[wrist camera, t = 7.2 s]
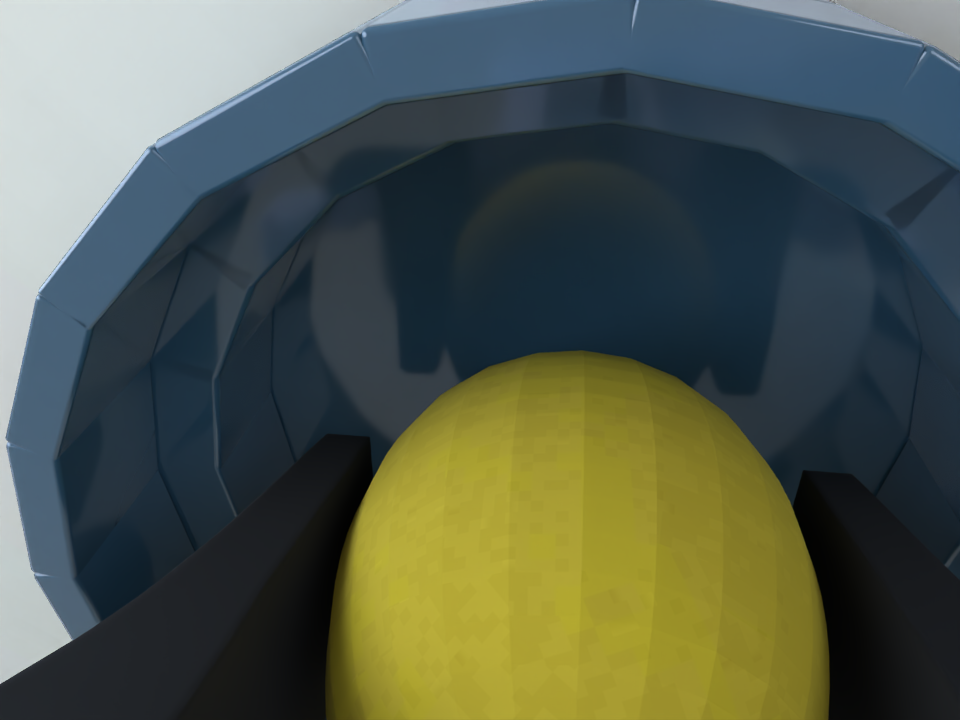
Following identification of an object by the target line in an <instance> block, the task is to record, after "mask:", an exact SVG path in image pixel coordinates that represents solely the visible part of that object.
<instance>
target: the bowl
mask: <svg viewBox="0 0 960 720" xmlns="http://www.w3.org/2000/svg"><path fill="white" fill-rule="evenodd" d="M38 293H39V294H38V295H37V297H36V301H35V306H34V310H33V315H32V319H31V324H30V329H29V333H28V338H27V342H26V347H25V352H24V356H23V361H22V365H21V370H20V375H19V379H18V384H17V388H16V393H15V398H14V402H13V407H12V411H11V416H10V421H9V425H8V430H7V434H6V440H7V441H8V443H7V452H8V457H9V462H10V467H11V472H12V477H13V482H14V486H15V491H16V496H17V501H18V506H19V511H20V516H21V521H22V526H23V531H24V536H25V541H26V546H27V551H28V556H29V560H30V565H31V570H32V571H33V572H35V574H34V576H35V579H36V581H37V582H38V584H39V586H40V587H41V589H42V591H43V592H44V594H45V596H46V597H47V599H48V601H49V602H50V604H51V606H52V607H53V609H54V611H55V612H56V614H57V616H58V617H59V619H60V621H61V622H62V624H63V626H64V627H65V629H66V631H67V632H68V634H69V636H70V637H71V639H72V641H73V640H74V639H76V638H77V637H79V636H81V635H82V634H84V633H85V632H87V631H88V630H90V629H91V628H93V627H94V626H96V625H97V624H99V623H100V622H102V621H103V620H104V619H106V618H107V617H109V616H110V615H112V614H113V613H115V612H116V611H118V610H119V609H121V608H122V607H123V606H125V605H126V604H128V603H129V602H131V601H132V600H134V599H135V598H136V597H138V596H139V595H140V594H142V593H143V592H145V591H146V590H147V589H149V588H150V587H151V586H153V585H154V584H155V583H157V582H158V581H159V580H160V579H162V578H163V577H164V576H166V575H167V574H168V573H169V572H171V571H172V570H173V569H174V568H176V567H177V566H178V565H179V564H180V563H182V562H183V561H184V560H185V559H187V558H188V557H189V556H190V555H192V554H193V553H194V552H195V551H197V550H198V549H199V548H200V547H201V546H203V545H204V544H205V543H206V542H208V541H209V540H210V539H211V538H213V537H214V536H215V535H216V534H217V533H218V532H220V531H221V530H222V529H223V528H224V527H225V526H226V525H228V524H229V523H230V522H231V521H232V520H233V519H234V518H235V517H237V516H238V515H239V514H240V513H241V512H242V511H243V510H244V509H246V508H247V507H248V506H249V505H250V504H251V503H252V502H253V501H255V500H256V499H257V498H258V497H259V496H260V495H261V494H262V493H263V492H264V491H266V490H267V489H268V488H269V487H270V486H271V485H272V484H273V483H274V482H275V481H276V480H277V479H278V478H279V477H281V476H282V475H283V474H284V473H285V472H286V471H287V470H288V469H289V468H290V467H291V466H292V465H293V464H294V463H295V462H296V461H298V460H299V459H300V458H301V457H302V456H303V455H304V454H305V453H306V452H307V451H308V450H309V449H310V448H311V447H312V446H314V445H315V444H316V443H317V442H318V441H319V440H320V439H321V438H323V437H324V436H325V435H326V434H340V435H353V436H366V437H370V443H371V455H372V467H373V478H374V476H375V474H376V472H377V471H378V469H379V467H380V465H381V463H382V461H383V460H384V458H385V456H386V454H387V453H388V451H389V450H390V449H391V447H392V446H393V444H394V443H395V442H396V440H397V439H398V438H399V437H400V436H401V435H402V433H403V432H404V431H405V430H406V429H407V428H408V427H409V426H410V425H411V424H412V423H413V422H414V421H415V420H416V419H417V418H418V417H419V416H420V415H421V414H422V413H423V412H424V411H425V410H426V409H427V408H428V407H429V406H430V405H431V404H432V403H433V402H434V401H435V400H436V399H437V398H438V397H439V396H440V395H442V394H443V393H445V392H446V391H448V390H449V389H451V388H452V387H454V386H456V385H457V384H459V383H461V382H463V381H464V380H466V379H468V378H470V377H471V376H473V375H475V374H477V373H478V372H480V371H482V370H483V369H485V368H487V367H489V366H492V365H496V364H499V363H503V362H506V361H510V360H513V359H517V358H521V357H524V356H528V355H531V354H535V353H542V352H561V351H579V350H583V351H590V352H596V353H602V354H608V355H615V356H621V357H627V358H631V359H633V360H636V361H638V362H641V363H643V364H646V365H648V366H651V367H653V368H656V369H658V370H660V371H663V372H665V373H668V374H670V375H673V376H675V377H677V378H678V379H680V380H681V381H683V382H684V383H685V384H687V385H688V386H689V387H691V388H692V389H694V390H695V391H696V392H698V393H699V394H700V395H702V396H703V397H705V398H706V399H707V400H709V401H710V402H712V403H713V404H714V405H716V406H717V407H718V408H720V409H721V410H722V411H724V412H725V413H726V414H727V415H728V416H729V417H730V418H731V419H732V420H733V422H734V423H735V424H736V425H737V426H738V427H739V428H740V430H741V431H742V432H743V433H744V435H745V436H746V437H747V438H748V440H749V441H750V442H751V443H752V445H753V446H754V447H755V449H756V450H757V451H758V452H759V454H760V455H761V456H762V457H763V459H764V460H765V461H766V462H767V464H768V465H769V467H770V468H771V470H772V471H773V473H774V474H775V476H776V477H777V478H778V480H779V482H780V483H781V485H782V487H783V489H784V491H785V493H786V495H787V497H788V499H789V501H790V503H791V506H792V507H793V504H794V500H795V497H796V493H797V490H798V486H799V482H800V479H801V475H802V472H803V470H809V471H822V472H835V473H848V474H852V475H854V476H855V477H856V478H857V479H858V480H859V481H860V482H861V483H862V484H863V485H864V486H865V487H866V488H867V489H868V490H869V491H870V492H871V493H872V494H873V495H874V496H875V497H876V498H877V499H878V500H879V501H880V502H881V503H882V504H883V505H884V506H885V507H886V508H887V509H888V510H889V511H890V512H891V513H892V514H893V515H894V516H895V517H896V518H897V519H898V520H899V521H900V522H901V523H902V524H903V525H904V526H905V527H906V528H907V529H908V530H909V531H910V532H911V533H912V534H913V535H914V536H915V537H916V538H917V539H918V540H919V541H920V542H921V543H922V544H923V545H924V546H925V547H926V548H927V549H928V550H929V551H930V552H931V553H932V554H933V555H934V556H936V557H937V558H938V559H939V560H940V561H941V562H942V563H943V564H944V565H945V566H946V567H947V568H948V569H949V570H950V571H951V572H952V573H953V574H954V575H955V576H956V577H957V578H958V579H959V580H960V62H959V61H958V60H956V59H954V58H953V57H951V56H950V55H948V54H947V53H945V52H943V51H942V50H940V49H939V48H937V47H936V46H934V45H931V44H929V43H927V42H924V41H922V40H920V39H917V38H915V37H913V36H910V35H908V34H905V33H903V32H901V31H898V30H896V29H894V28H891V27H889V26H887V25H884V24H882V23H880V22H877V21H875V20H872V19H870V18H868V17H865V16H863V15H861V14H858V13H856V12H854V11H851V10H849V9H847V8H845V7H843V6H840V5H838V4H836V3H833V2H831V1H828V0H405V1H403V2H401V3H400V4H398V5H396V6H394V7H392V8H391V9H389V10H387V11H385V12H383V13H382V14H380V15H378V16H376V17H375V18H373V19H371V20H369V21H367V22H366V23H364V24H362V25H360V26H358V27H357V28H355V29H353V30H351V31H350V32H348V33H346V34H344V35H342V36H341V37H339V38H337V39H335V40H333V41H332V42H330V43H328V44H326V45H325V46H323V47H321V48H319V49H317V50H316V51H314V52H312V53H310V54H308V55H307V56H305V57H303V58H301V59H300V60H298V61H296V62H294V63H293V64H291V65H289V66H287V67H285V68H284V69H282V70H280V71H278V72H277V73H275V74H273V75H271V76H269V77H268V78H266V79H264V80H262V81H261V82H259V83H257V84H255V85H253V86H252V87H250V88H248V89H246V90H245V91H243V92H241V93H239V94H237V95H236V96H234V97H232V98H230V99H229V100H227V101H225V102H223V103H221V104H220V105H218V106H216V107H214V108H213V109H211V110H209V111H207V112H205V113H204V114H202V115H200V116H198V117H197V118H195V119H193V120H191V121H189V122H188V123H186V124H184V125H182V126H181V127H179V128H177V129H175V130H173V131H172V132H170V133H168V134H166V135H165V136H163V137H161V138H159V139H158V140H157V142H156V143H154V144H153V145H151V146H149V147H148V148H147V149H146V150H145V151H144V153H143V154H142V155H141V157H140V158H139V159H138V161H137V162H136V163H135V165H134V166H133V167H132V168H131V170H130V171H129V172H128V174H127V175H126V176H125V178H124V179H123V180H122V181H121V183H120V184H119V185H118V187H117V188H116V189H115V191H114V192H113V193H112V195H111V196H110V197H109V198H108V200H107V201H106V202H105V204H104V205H103V206H102V208H101V209H100V210H99V211H98V213H97V214H96V215H95V217H94V218H93V219H92V221H91V222H90V223H89V224H88V226H87V227H86V228H85V230H84V231H83V232H82V234H81V235H80V236H79V238H78V239H77V240H76V241H75V243H74V244H73V245H72V247H71V248H70V249H69V251H68V252H67V253H66V254H65V256H64V257H63V258H62V260H61V261H60V262H59V264H58V265H57V266H56V267H55V269H54V270H53V271H52V273H51V274H50V275H49V277H48V278H47V279H46V281H45V282H44V283H43V284H42V286H41V287H40V289H39V292H38ZM325 720H327V719H326V718H325Z"/></svg>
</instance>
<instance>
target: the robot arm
mask: <svg viewBox="0 0 960 720" xmlns="http://www.w3.org/2000/svg"><path fill="white" fill-rule="evenodd" d="M372 480H373V467H372V455H371V443H370V437H366V436H353V435H340V434H326V435H325V436H324V437H323V438H321V439H320V440H319V441H318V442H317V443H316V444H315V445H314V446H312V447H311V448H310V449H309V450H308V451H307V452H306V453H305V454H304V455H303V456H302V457H301V458H300V459H299V460H298V461H296V462H295V463H294V464H293V465H292V466H291V467H290V468H289V469H288V470H287V471H286V472H285V473H284V474H283V475H282V476H281V477H279V478H278V479H277V480H276V481H275V482H274V483H273V484H272V485H271V486H270V487H269V488H268V489H267V490H266V491H264V492H263V493H262V494H261V495H260V496H259V497H258V498H257V499H256V500H255V501H253V502H252V503H251V504H250V505H249V506H248V507H247V508H246V509H244V510H243V511H242V512H241V513H240V514H239V515H238V516H237V517H235V518H234V519H233V520H232V521H231V522H230V523H229V524H228V525H226V526H225V527H224V528H223V529H222V530H221V531H220V532H218V533H217V534H216V535H215V536H214V537H213V538H211V539H210V540H209V541H208V542H206V543H205V544H204V545H203V546H201V547H200V548H199V549H198V550H197V551H195V552H194V553H193V554H192V555H190V556H189V557H188V558H187V559H185V560H184V561H183V562H182V563H180V564H179V565H178V566H177V567H176V568H174V569H173V570H172V571H171V572H169V573H168V574H167V575H166V576H164V577H163V578H162V579H160V580H159V581H158V582H157V583H155V584H154V585H153V586H151V587H150V588H149V589H147V590H146V591H145V592H143V593H142V594H140V595H139V596H138V597H136V598H135V599H134V600H132V601H131V602H129V603H128V604H126V605H125V606H123V607H122V608H121V609H119V610H118V611H116V612H115V613H113V614H112V615H110V616H109V617H107V618H106V619H104V620H103V621H102V622H100V623H99V624H97V625H96V626H94V627H93V628H91V629H90V630H88V631H87V632H85V633H84V634H82V635H81V636H79V637H77V638H76V639H74V640H73V641H71V642H69V643H68V644H66V645H64V646H63V647H61V648H60V649H58V650H56V651H55V652H53V653H51V654H50V655H48V656H46V657H45V658H43V659H41V660H40V661H38V662H36V663H35V664H33V665H31V666H30V667H28V668H26V669H25V670H23V671H21V672H20V673H18V674H16V675H15V676H13V677H11V678H10V679H8V680H6V681H5V682H3V683H1V684H0V720H325V718H326V702H325V675H326V657H327V645H328V637H329V628H330V619H331V611H332V603H333V595H334V587H335V580H336V575H337V570H338V565H339V560H340V556H341V552H342V549H343V546H344V542H345V539H346V536H347V532H348V530H349V528H350V525H351V523H352V520H353V518H354V516H355V513H356V511H357V509H358V507H359V505H360V503H361V501H362V499H363V497H364V495H365V494H366V492H367V490H368V488H369V486H370V484H371V482H372ZM792 509H793V511H794V514H795V516H796V519H797V522H798V524H799V527H800V530H801V533H802V535H803V538H804V541H805V544H806V547H807V549H808V552H809V555H810V558H811V561H812V564H813V566H814V569H815V573H816V576H817V580H818V584H819V588H820V591H821V595H822V601H823V607H824V612H825V618H826V624H827V636H828V647H829V674H830V694H829V717H828V720H960V580H959V579H958V578H957V577H956V576H955V575H954V574H953V573H952V572H951V571H950V570H949V569H948V568H947V567H946V566H945V565H944V564H943V563H942V562H941V561H940V560H939V559H938V558H937V557H936V556H934V555H933V554H932V553H931V552H930V551H929V550H928V549H927V548H926V547H925V546H924V545H923V544H922V543H921V542H920V541H919V540H918V539H917V538H916V537H915V536H914V535H913V534H912V533H911V532H910V531H909V530H908V529H907V528H906V527H905V526H904V525H903V524H902V523H901V522H900V521H899V520H898V519H897V518H896V517H895V516H894V515H893V514H892V513H891V512H890V511H889V510H888V509H887V508H886V507H885V506H884V505H883V504H882V503H881V502H880V501H879V500H878V499H877V498H876V497H875V496H874V495H873V494H872V493H871V492H870V491H869V490H868V489H867V488H866V487H865V486H864V485H863V484H862V483H861V482H860V481H859V480H858V479H857V478H856V477H855V476H854V475H852V474H848V473H835V472H822V471H809V470H803V472H802V475H801V479H800V482H799V486H798V490H797V493H796V497H795V500H794V504H793V507H792Z"/></svg>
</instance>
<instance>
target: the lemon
mask: <svg viewBox="0 0 960 720" xmlns="http://www.w3.org/2000/svg"><path fill="white" fill-rule="evenodd" d="M829 694H830V674H829V647H828V636H827V624H826V618H825V612H824V607H823V601H822V595H821V591H820V588H819V584H818V580H817V576H816V573H815V569H814V566H813V564H812V561H811V558H810V555H809V552H808V549H807V547H806V544H805V541H804V538H803V535H802V533H801V530H800V527H799V524H798V522H797V519H796V516H795V514H794V511H793V509H792V506H791V503H790V501H789V499H788V497H787V495H786V493H785V491H784V489H783V487H782V485H781V483H780V482H779V480H778V478H777V477H776V476H775V474H774V473H773V471H772V470H771V468H770V467H769V465H768V464H767V462H766V461H765V460H764V459H763V457H762V456H761V455H760V454H759V452H758V451H757V450H756V449H755V447H754V446H753V445H752V443H751V442H750V441H749V440H748V438H747V437H746V436H745V435H744V433H743V432H742V431H741V430H740V428H739V427H738V426H737V425H736V424H735V423H734V422H733V420H732V419H731V418H730V417H729V416H728V415H727V414H726V413H725V412H724V411H722V410H721V409H720V408H718V407H717V406H716V405H714V404H713V403H712V402H710V401H709V400H707V399H706V398H705V397H703V396H702V395H700V394H699V393H698V392H696V391H695V390H694V389H692V388H691V387H689V386H688V385H687V384H685V383H684V382H683V381H681V380H680V379H678V378H677V377H675V376H673V375H670V374H668V373H665V372H663V371H660V370H658V369H656V368H653V367H651V366H648V365H646V364H643V363H641V362H638V361H636V360H633V359H631V358H627V357H621V356H615V355H608V354H602V353H596V352H590V351H583V350H579V351H561V352H542V353H535V354H531V355H528V356H524V357H521V358H517V359H513V360H510V361H506V362H503V363H499V364H496V365H492V366H489V367H487V368H485V369H483V370H482V371H480V372H478V373H477V374H475V375H473V376H471V377H470V378H468V379H466V380H464V381H463V382H461V383H459V384H457V385H456V386H454V387H452V388H451V389H449V390H448V391H446V392H445V393H443V394H442V395H440V396H439V397H438V398H437V399H436V400H435V401H434V402H433V403H432V404H431V405H430V406H429V407H428V408H427V409H426V410H425V411H424V412H423V413H422V414H421V415H420V416H419V417H418V418H417V419H416V420H415V421H414V422H413V423H412V424H411V425H410V426H409V427H408V428H407V429H406V430H405V431H404V432H403V433H402V435H401V436H400V437H399V438H398V439H397V440H396V442H395V443H394V444H393V446H392V447H391V449H390V450H389V451H388V453H387V454H386V456H385V458H384V460H383V461H382V463H381V465H380V467H379V469H378V471H377V472H376V474H375V476H374V478H373V480H372V482H371V484H370V486H369V488H368V490H367V492H366V494H365V495H364V497H363V499H362V501H361V503H360V505H359V507H358V509H357V511H356V513H355V516H354V518H353V520H352V523H351V525H350V528H349V530H348V532H347V536H346V539H345V542H344V546H343V549H342V552H341V556H340V560H339V565H338V570H337V575H336V580H335V587H334V595H333V603H332V611H331V619H330V628H329V637H328V645H327V657H326V675H325V702H326V719H327V720H828V717H829Z"/></svg>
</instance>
